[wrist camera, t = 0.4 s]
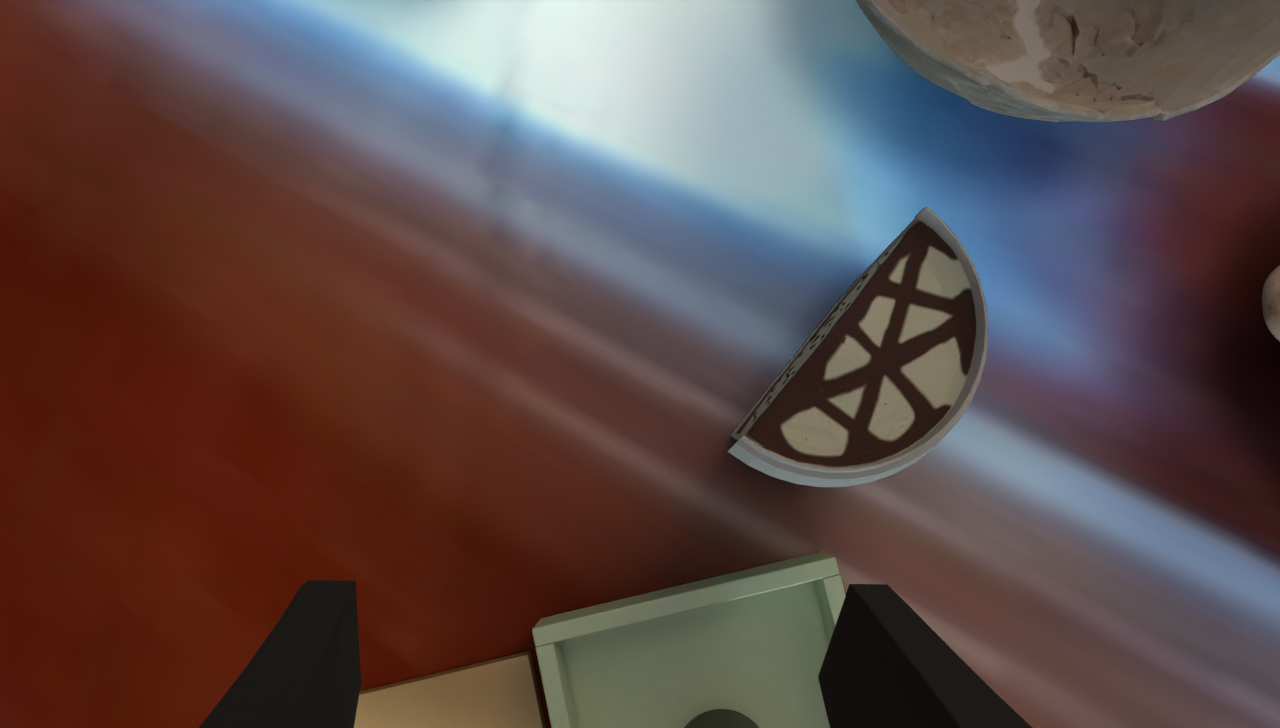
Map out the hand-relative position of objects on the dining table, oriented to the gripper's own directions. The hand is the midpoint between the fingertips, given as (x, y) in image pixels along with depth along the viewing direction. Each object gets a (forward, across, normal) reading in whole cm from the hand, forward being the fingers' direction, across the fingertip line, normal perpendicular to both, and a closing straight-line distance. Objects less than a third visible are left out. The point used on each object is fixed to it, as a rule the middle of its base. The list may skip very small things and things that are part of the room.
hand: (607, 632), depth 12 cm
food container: (+24, -15, +10) cm, 30 cm away
